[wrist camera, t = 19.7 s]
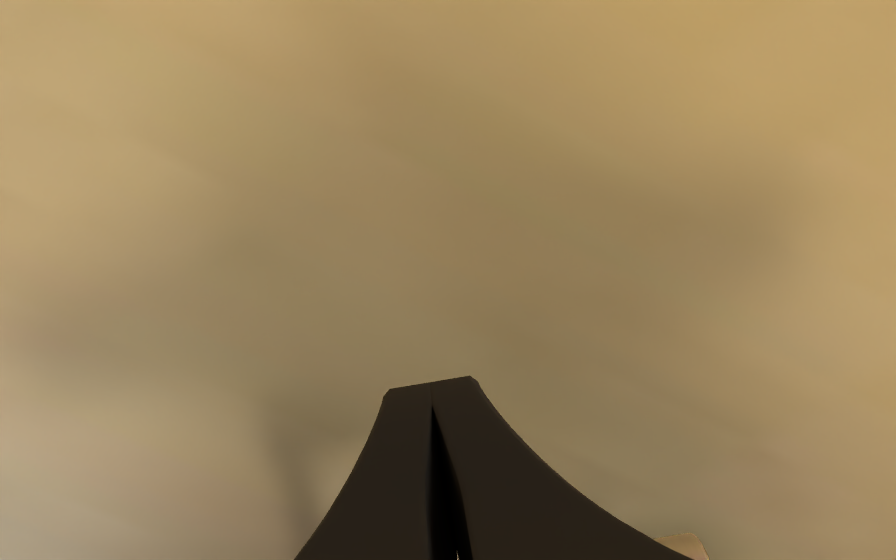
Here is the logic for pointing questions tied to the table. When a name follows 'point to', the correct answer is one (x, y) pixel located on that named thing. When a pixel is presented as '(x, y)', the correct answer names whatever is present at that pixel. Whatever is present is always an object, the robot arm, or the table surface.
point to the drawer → (685, 545)
